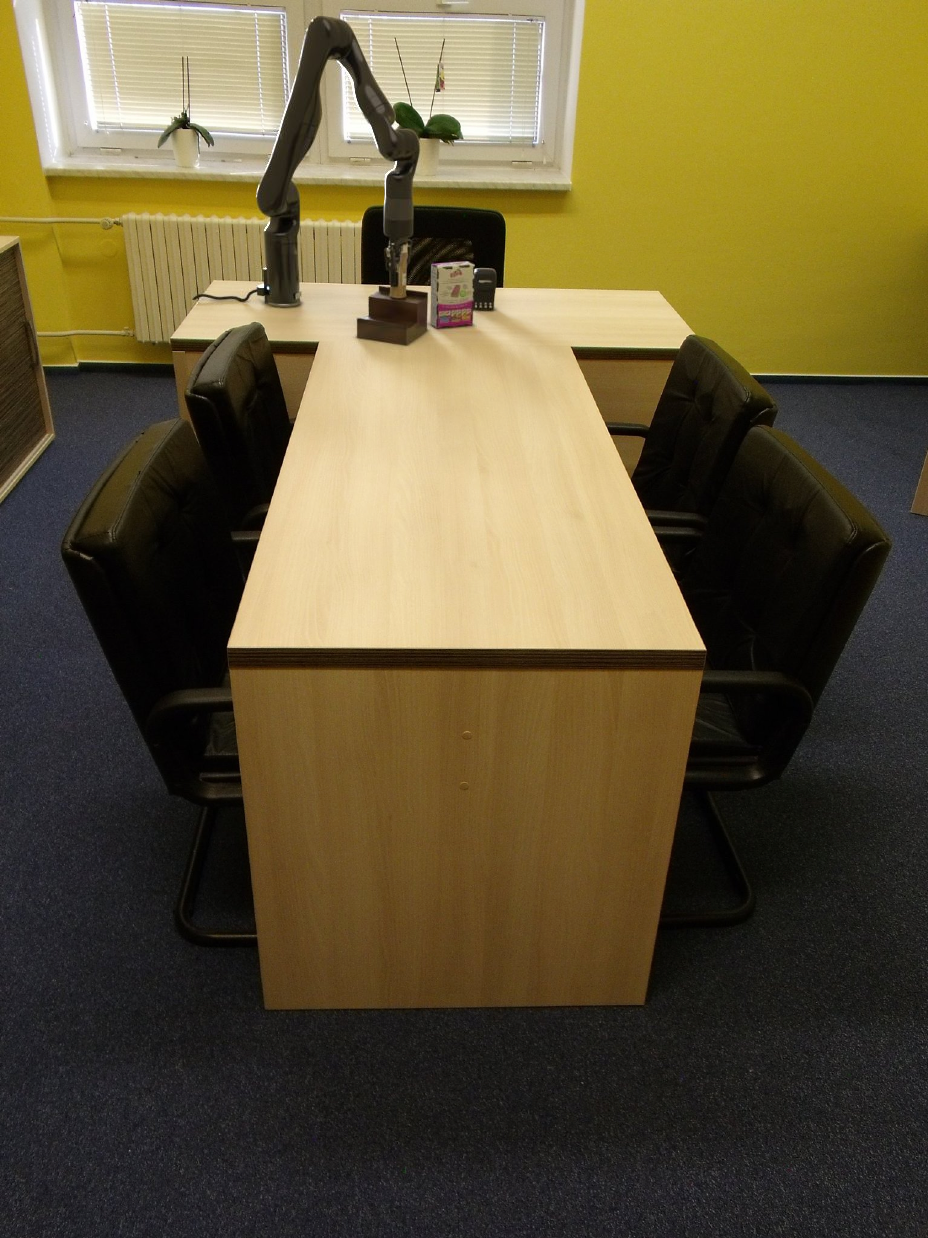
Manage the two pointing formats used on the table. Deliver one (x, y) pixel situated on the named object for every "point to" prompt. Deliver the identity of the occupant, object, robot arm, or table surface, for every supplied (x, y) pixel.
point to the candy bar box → (452, 294)
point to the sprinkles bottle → (400, 278)
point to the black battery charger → (484, 289)
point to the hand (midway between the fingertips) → (397, 283)
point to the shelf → (394, 317)
